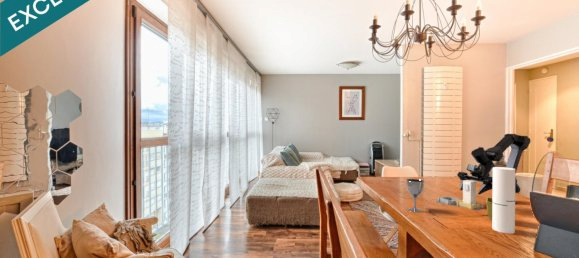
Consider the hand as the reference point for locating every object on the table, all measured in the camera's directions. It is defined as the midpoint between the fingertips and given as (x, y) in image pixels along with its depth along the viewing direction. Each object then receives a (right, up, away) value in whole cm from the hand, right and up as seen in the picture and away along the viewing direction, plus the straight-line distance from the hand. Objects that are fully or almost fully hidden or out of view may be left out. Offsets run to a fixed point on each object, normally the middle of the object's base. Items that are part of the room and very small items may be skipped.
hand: (469, 191), depth 138 cm
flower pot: (0, -9, -19) cm, 21 cm away
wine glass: (-30, -8, -4) cm, 31 cm away
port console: (-2, -8, +4) cm, 9 cm away
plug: (0, -7, 0) cm, 7 cm away
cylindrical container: (-6, -9, -30) cm, 31 cm away
